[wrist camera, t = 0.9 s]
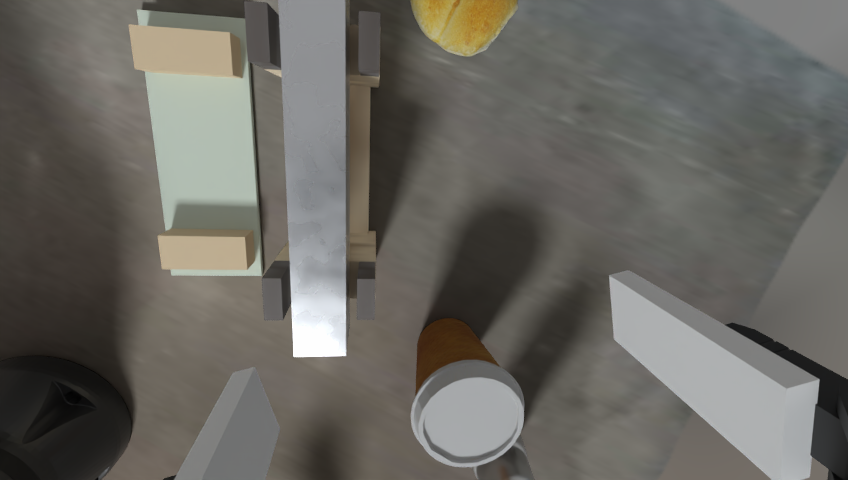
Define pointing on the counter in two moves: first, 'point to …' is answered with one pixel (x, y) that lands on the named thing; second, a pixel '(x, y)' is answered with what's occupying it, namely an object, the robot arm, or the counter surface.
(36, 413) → the robot arm
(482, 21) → the bread roll
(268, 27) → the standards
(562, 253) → the counter surface
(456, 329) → the disposable coffee cup
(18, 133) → the counter surface
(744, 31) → the counter surface
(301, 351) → the rail
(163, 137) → the rest pad
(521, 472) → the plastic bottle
